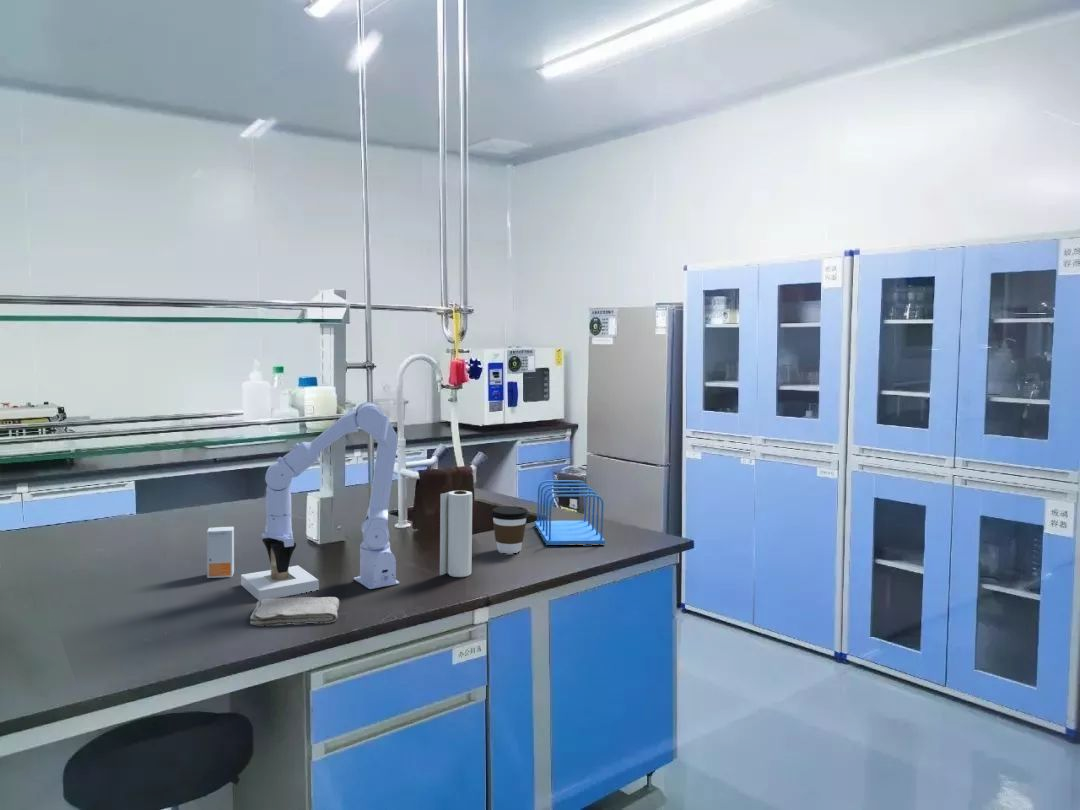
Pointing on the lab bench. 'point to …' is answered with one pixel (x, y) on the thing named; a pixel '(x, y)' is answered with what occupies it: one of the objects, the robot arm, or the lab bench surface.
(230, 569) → the skincare box
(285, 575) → the birch peg
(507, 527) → the coffee cup
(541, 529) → the file sorter
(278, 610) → the washcloth
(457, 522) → the paper towel roll
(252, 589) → the socket block
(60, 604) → the lab bench surface
